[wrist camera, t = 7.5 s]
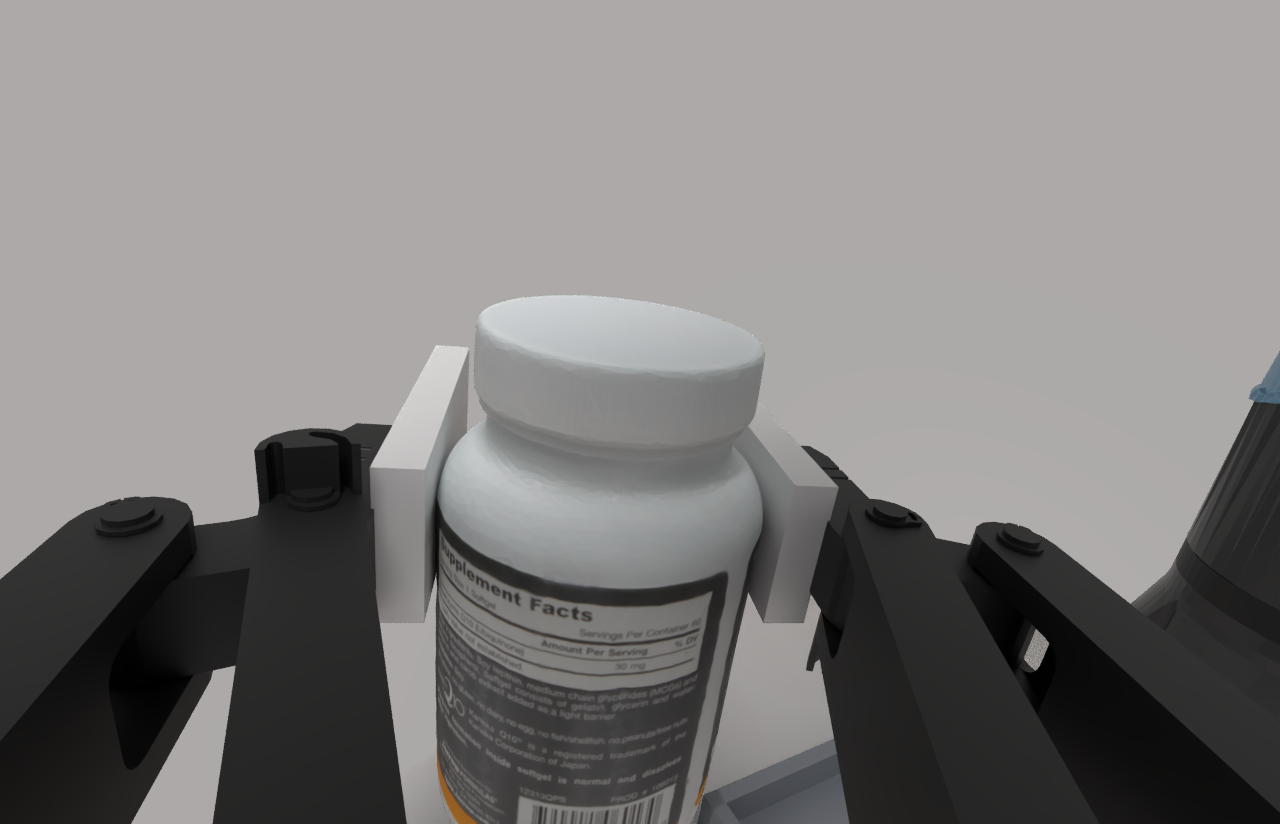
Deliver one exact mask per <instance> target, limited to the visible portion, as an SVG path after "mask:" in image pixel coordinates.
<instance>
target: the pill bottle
mask: <svg viewBox="0 0 1280 824" xmlns="http://www.w3.org/2000/svg"><path fill="white" fill-rule="evenodd" d="M764 356H765V354H764V349H763V346H762V344H761V343H760V341H759V340H758V339H757V338H756V337H755V336H753V335H752V334H751V333H749V332H748V331H746V330H744V329H742V328H740V327H738V326H736V325H733V324H730V323H728V322H726V321H723V320H720V319H718V318H715V317H712V316H708V315H705V314H702V313H698V312H695V311H691V310H686V309H682V308H677V307H672V306H668V305H662V304H657V303H651V302H644V301H637V300H628V299H620V298H613V297H598V296H582V295H581V296H580V295H577V296H573V295H559V296H558V295H553V296H552V295H551V296H536V297H525V298H517V299H512V300H508V301H504V302H501V303H497V304H494V305H492V306H490V307H488V308H487V309H485V310H484V311H483V312H482V313H481V314H480V316H479V318H478V322H477V325H476V334H475V354H474V388H475V390H476V392H477V395H478V396H479V402H480V404H481V406H482V408H483V410H484V411H485V412H486V414H487V418H486V419H485V420H483V421H481V422H480V423H478V424H477V425H476V426H474V427H473V428H472V429H470V430H469V431H468V432H467V433H466V434H465V435H464V436H463V437H462V438H461V439H460V440H459V441H458V443H457V444H456V445H455V447H454V448H453V450H452V451H451V453H450V455H449V456H448V458H447V461H446V463H445V465H444V468H443V471H442V474H441V477H440V482H439V486H438V491H437V496H436V514H435V529H436V543H437V545H436V566H437V574H436V578H437V599H436V662H435V663H436V702H437V703H436V705H437V710H436V737H437V766H438V779H439V787H440V794H441V797H442V800H443V804H444V808H445V810H446V812H447V814H448V816H449V818H450V820H451V822H452V824H690V823H691V822H692V820H693V818H694V815H695V813H696V811H697V809H698V806H699V803H700V800H701V796H702V793H703V790H704V786H705V783H706V779H707V776H708V771H709V767H710V763H711V759H712V755H713V752H714V745H715V740H716V736H717V734H718V728H719V723H720V718H721V713H722V709H723V704H724V699H725V695H726V690H727V685H728V680H729V675H730V670H731V666H732V661H733V657H734V652H735V647H736V643H737V639H738V634H739V630H740V625H741V621H742V617H743V612H744V608H745V604H746V600H747V595H748V590H749V586H750V582H751V577H752V573H753V570H754V566H755V560H756V556H757V551H758V547H759V542H760V538H761V534H762V529H763V507H762V498H761V492H760V489H759V486H758V483H757V480H756V478H755V475H754V473H753V471H752V470H751V468H750V466H749V465H748V463H747V461H746V460H745V459H744V458H743V456H742V455H741V454H740V453H739V452H738V451H737V450H736V448H735V447H734V446H733V442H734V441H735V440H736V439H737V438H739V437H740V436H741V434H742V433H743V432H744V429H745V427H747V426H748V425H749V424H750V423H751V422H752V420H753V419H754V416H755V413H756V408H757V402H758V395H759V389H760V383H761V376H762V371H763V365H764Z"/></svg>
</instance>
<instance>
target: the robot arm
mask: <svg viewBox="0 0 1280 824" xmlns="http://www.w3.org/2000/svg"><path fill="white" fill-rule="evenodd" d="M468 373H469V348H467V347H454V346H440V345H436V347H435V349H434V351H433V352H432V354H431V356H430V358H429V360H428V362H427V364H426V365H425V367H424V369H423V371H422V373H421V375H420V376H419V378H418V380H417V382H416V384H415V385H414V387H413V389H412V391H411V393H410V395H409V396H408V398H407V400H406V402H405V404H404V406H403V408H402V409H401V411H400V413H399V415H398V417H397V418H396V420H395V422H394V424H393V425H377V424H358V423H357V424H355V425H353V426H351V427H349V428H347V429H345V430H343V431H338V430H333V429H312V428H309V429H301V430H293V431H287V432H284V433H280V434H276V435H273V436H271V437H269V438H267V439H265V440H263V441H262V442H260V443H259V444H258V446H257V447H256V449H255V450H254V452H255V462H256V473H257V482H258V493H259V511H258V515H257V516H253V517H250V518H246V519H240V520H235V521H229V522H221V523H213V524H205V525H197V526H194V523H193V515H192V511H191V510H190V508H189V506H188V505H187V504H186V503H183V502H181V501H179V500H176V499H172V498H163V497H143V498H141V497H130V498H124V500H121V499H118V500H115V501H110V502H107V503H106V504H104V505H102V506H99V507H96V508H93V509H91V510H88V511H85V512H84V513H82V514H80V515H79V516H77V517H75V518H74V519H72V520H70V521H69V522H68V523H66V524H65V525H64V526H63V527H62V528H61V529H59V530H58V531H57V532H56V533H55V534H53V535H52V536H51V537H50V538H49V539H48V540H46V541H45V542H44V543H43V544H42V545H40V546H39V547H38V548H37V549H36V550H35V551H33V552H32V553H31V554H30V555H29V556H27V558H25V559H24V560H23V561H22V562H20V563H19V564H18V565H17V566H16V567H14V568H13V569H12V570H11V571H10V572H9V573H7V574H6V575H5V576H4V577H3V578H1V579H0V824H131V823H132V821H133V819H134V817H135V816H136V814H137V812H138V810H139V808H140V807H141V805H142V803H143V801H144V799H145V798H146V796H147V794H148V792H149V790H150V788H151V786H152V785H153V783H154V781H155V779H156V778H157V776H158V774H159V772H160V770H161V769H162V767H163V765H164V763H165V761H166V760H167V758H168V756H169V754H170V752H171V750H172V749H173V747H174V745H175V743H176V741H177V740H178V738H179V736H180V734H181V732H182V731H183V729H184V727H185V725H186V723H187V722H188V720H189V718H190V716H191V714H192V712H193V711H194V709H195V707H196V705H197V704H198V702H199V700H200V698H201V696H202V695H203V693H204V691H205V689H206V687H207V685H208V684H209V682H210V680H211V676H212V672H213V670H217V669H222V668H226V667H230V666H235V665H236V668H235V675H234V682H233V689H232V695H231V703H230V709H229V716H228V723H227V729H226V736H225V743H224V750H223V757H222V764H221V770H220V777H219V784H218V791H217V798H216V804H215V811H214V818H213V824H407V823H406V816H405V808H404V801H403V793H402V786H401V778H400V771H399V764H398V756H397V748H396V741H395V733H394V726H393V719H392V711H391V704H390V696H389V689H388V682H387V674H386V666H385V659H384V651H383V644H382V636H381V629H380V623H424V621H425V617H426V613H427V608H428V605H429V601H430V597H431V592H432V588H433V584H434V580H435V576H436V572H437V566H436V545H437V543H436V529H435V514H436V496H437V491H438V486H439V482H440V477H441V474H442V471H443V468H444V465H445V463H446V461H447V458H448V456H449V455H450V453H451V451H452V450H453V448H454V447H455V445H456V444H457V443H458V441H459V440H460V439H461V438H462V437H463V436H464V435H465V434H466V433H467V406H468ZM1249 399H1251V400H1253V401H1254V403H1253V406H1252V407H1251V409H1250V412H1249V414H1248V416H1247V418H1246V420H1245V422H1244V424H1243V426H1242V428H1241V430H1240V432H1239V434H1238V436H1237V438H1236V440H1235V442H1234V444H1233V446H1232V448H1231V450H1230V452H1229V454H1228V456H1227V457H1226V460H1225V461H1224V463H1223V465H1222V467H1221V469H1220V471H1219V473H1218V475H1217V477H1216V479H1215V481H1214V483H1213V485H1212V487H1211V489H1210V491H1209V493H1208V495H1207V497H1206V499H1205V501H1204V503H1203V505H1202V507H1201V509H1200V511H1199V513H1198V515H1197V517H1196V519H1195V521H1194V523H1193V525H1192V527H1191V529H1190V531H1189V532H1188V535H1187V537H1186V539H1185V541H1184V543H1183V545H1182V547H1181V549H1180V551H1179V553H1178V555H1177V557H1176V559H1175V561H1174V563H1173V565H1172V567H1171V568H1170V570H1169V571H1168V572H1167V573H1166V574H1165V575H1164V576H1163V577H1162V578H1161V579H1159V580H1158V581H1157V582H1156V583H1155V584H1153V585H1152V586H1151V587H1150V588H1149V589H1148V590H1147V591H1145V592H1144V593H1143V594H1142V595H1141V596H1139V597H1138V598H1137V599H1136V600H1135V601H1134V602H1132V603H1131V604H1130V603H1128V602H1127V601H1126V600H1125V599H1123V598H1122V597H1121V596H1119V595H1118V594H1117V593H1116V592H1114V591H1113V590H1112V589H1110V588H1109V587H1108V586H1107V585H1105V584H1104V583H1103V582H1102V581H1100V580H1099V579H1098V578H1097V577H1095V576H1094V575H1093V574H1091V573H1090V572H1089V571H1088V570H1086V569H1085V568H1084V567H1083V566H1081V565H1080V564H1079V563H1078V562H1076V561H1075V560H1074V559H1072V558H1071V557H1070V556H1069V555H1067V554H1066V553H1065V552H1063V551H1062V550H1061V549H1059V548H1058V547H1057V546H1056V545H1055V544H1053V543H1051V542H1050V541H1048V540H1047V539H1045V538H1044V537H1042V536H1040V535H1037V534H1035V533H1033V532H1032V531H1031V530H1030V529H1028V528H1025V527H1022V526H1019V527H1018V526H1017V525H1015V524H1012V523H1007V524H1004V523H998V522H986V523H982V524H980V525H979V526H977V527H976V530H975V533H974V535H973V539H972V541H971V544H970V545H967V544H962V543H957V542H952V541H947V540H942V539H937V538H935V536H934V534H933V533H932V531H931V529H930V527H929V526H928V524H927V523H926V522H925V521H924V520H923V519H922V518H921V517H920V516H919V515H918V514H916V513H915V512H913V511H911V510H909V509H907V508H905V507H902V506H900V505H897V504H895V503H891V502H887V501H883V500H877V499H869V498H868V497H867V496H866V495H865V494H864V493H863V492H862V491H861V490H860V489H859V488H858V487H857V486H856V485H855V484H854V483H853V482H852V481H851V480H848V477H847V476H846V475H845V474H844V472H843V471H841V470H839V467H838V466H837V465H835V463H834V462H833V461H832V460H831V459H830V458H829V457H828V456H826V455H824V454H822V453H820V452H819V451H817V450H815V449H813V448H812V447H810V446H800V445H799V444H798V443H797V442H796V441H795V439H794V438H793V437H792V436H791V435H790V434H789V433H788V432H787V431H786V430H785V429H784V428H783V426H782V425H781V424H780V423H779V422H778V421H777V420H776V419H775V418H774V417H773V416H772V415H771V414H770V413H769V411H768V410H767V409H766V408H765V407H764V406H763V405H762V404H761V403H760V402H759V401H758V402H757V408H756V413H755V416H754V419H753V420H752V422H751V423H750V424H749V425H748V426H747V427H745V429H744V432H743V433H742V434H741V436H740V437H739V438H737V439H736V440H735V441H734V442H733V446H734V447H735V448H736V450H737V451H738V452H739V453H740V454H741V455H742V456H743V458H744V459H745V460H746V461H747V463H748V465H749V466H750V468H751V470H752V471H753V473H754V475H755V478H756V480H757V483H758V486H759V489H760V492H761V498H762V507H763V529H762V534H761V538H760V542H759V547H758V551H757V556H756V560H755V566H754V570H753V573H752V577H751V582H750V586H749V590H748V592H749V594H750V596H751V599H752V601H753V603H754V605H755V607H756V609H757V611H758V613H759V615H760V617H761V619H762V621H763V623H804V619H805V615H806V611H807V607H808V603H809V600H810V596H811V595H812V596H813V598H814V600H815V601H816V603H817V604H818V606H819V607H820V609H821V613H820V616H819V620H818V624H817V627H816V631H815V635H814V639H813V642H812V646H811V650H810V653H809V657H808V661H807V667H806V670H808V671H813V668H814V664H815V662H816V661H818V660H819V659H820V663H821V668H822V674H823V679H824V685H825V691H826V696H827V702H828V707H829V713H830V718H831V724H832V729H833V735H834V741H835V746H836V752H837V757H838V763H839V768H840V774H841V780H842V785H843V791H844V796H845V802H846V807H847V813H848V819H849V824H1280V352H1279V353H1278V355H1277V357H1276V359H1275V360H1274V362H1273V364H1272V366H1271V367H1270V369H1269V371H1268V373H1267V374H1266V376H1265V378H1264V379H1263V381H1262V383H1261V384H1260V385H1257V386H1255V387H1254V388H1253V389H1252V390H1251V393H1250V396H1249ZM1036 629H1037V630H1038V631H1039V632H1040V633H1041V634H1042V635H1043V636H1044V637H1045V638H1046V640H1047V641H1048V642H1049V646H1048V648H1047V651H1046V653H1045V655H1044V658H1043V660H1042V662H1041V665H1040V666H1039V668H1038V669H1037V670H1036V671H1035V670H1034V669H1033V668H1031V667H1030V666H1029V665H1028V663H1027V662H1026V661H1025V660H1024V656H1025V654H1026V651H1027V649H1028V647H1029V644H1030V642H1031V639H1032V637H1033V635H1034V632H1035V630H1036Z"/></svg>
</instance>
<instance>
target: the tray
mask: <svg viewBox="0 0 1280 824" xmlns="http://www.w3.org/2000/svg"><path fill="white" fill-rule="evenodd" d="M698 824H849V819H848V813H847V807H846V802H845V796H844V791H843V785H842V780H841V774H840V768H839V763H838V757H837V752H836V746H835V741H834V739H833V740H831V741H828V742H826V743H824V744H821V745H819V746H817V747H814V748H812V749H810V750H807V751H805V752H803V753H801V754H798V755H796V756H794V757H791V758H789V759H787V760H784V761H782V762H780V763H777V764H775V765H773V766H770V767H768V768H766V769H763V770H761V771H759V772H756V773H754V774H752V775H749V776H747V777H745V778H742V779H740V780H738V781H736V782H733V783H731V784H729V785H726V786H724V787H722V788H719V789H717V790H715V791H712V792H710V793H708V794H705V795H704V797H703V802H702V806H701V810H700V815H699V819H698Z"/></svg>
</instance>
